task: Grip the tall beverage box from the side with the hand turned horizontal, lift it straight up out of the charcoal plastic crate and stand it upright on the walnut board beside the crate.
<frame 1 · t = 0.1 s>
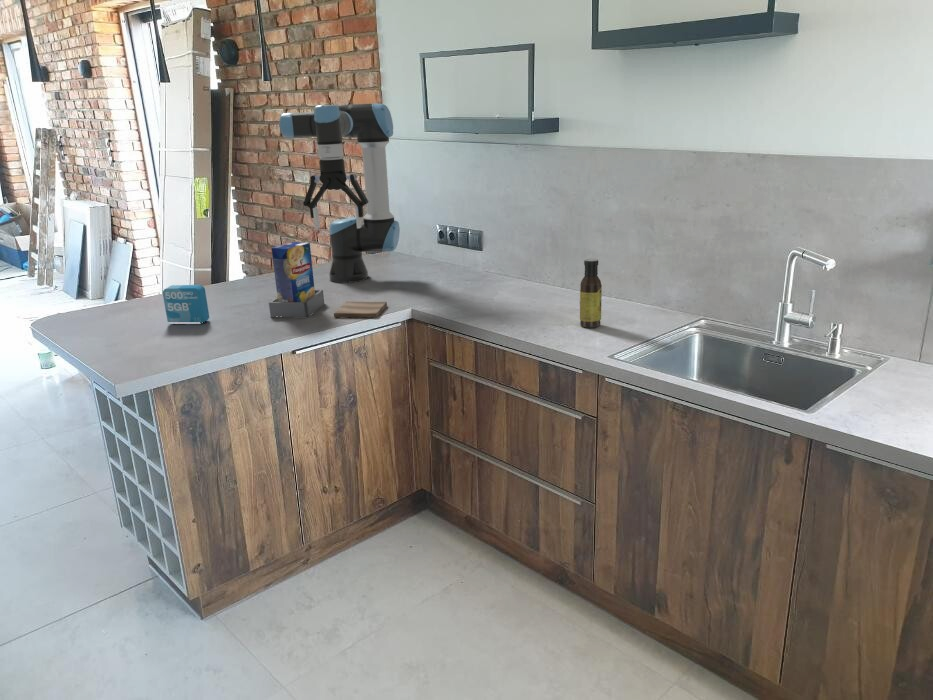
hand: (338, 228, 224), 28 cm above the table, tool pointing down, fingers open, 13 cm apart
walnut board: (361, 311, 234), on the table
beverage box: (298, 311, 238), resting in charcoal crate
sauce bottle: (590, 326, 212), on the table
charcoal crate: (298, 310, 238), on the table
data package: (189, 323, 228), on the table
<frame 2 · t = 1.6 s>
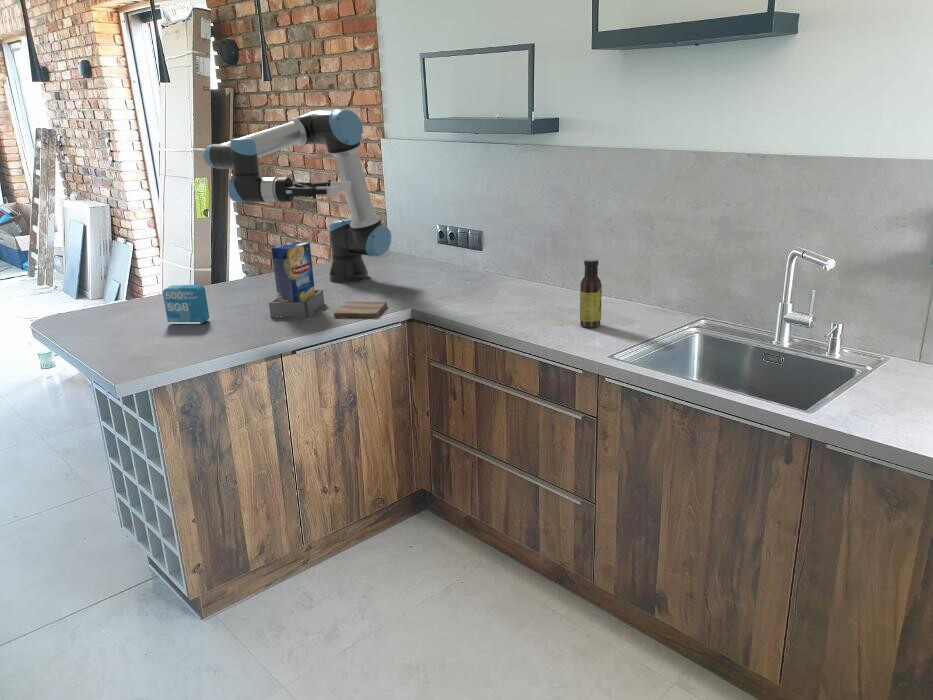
hand: (344, 188, 219), 40 cm above the table, tool horizontal, fingers open, 13 cm apart
nothing on the table moved.
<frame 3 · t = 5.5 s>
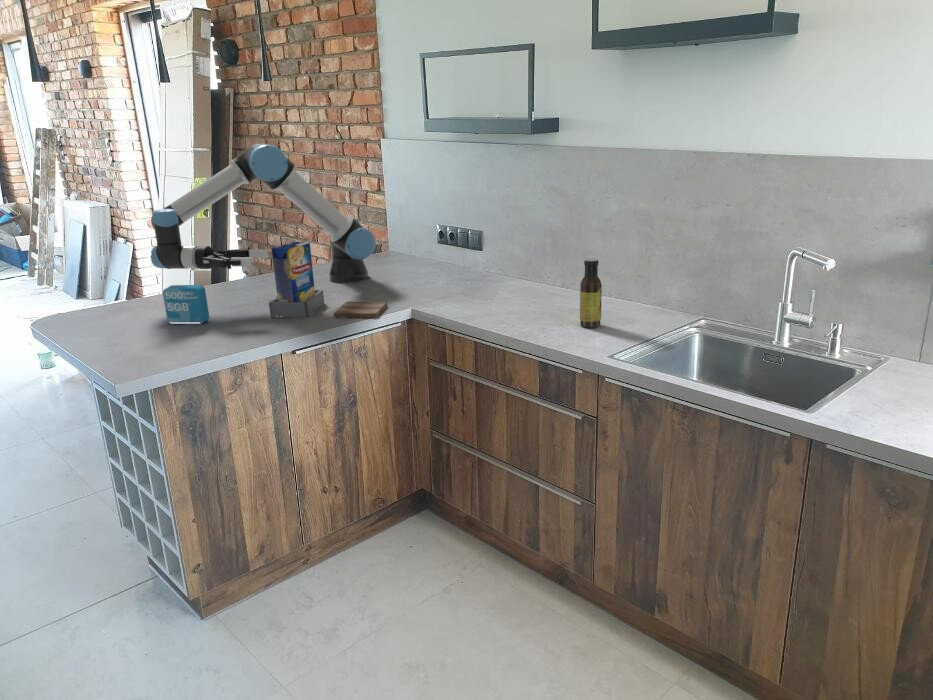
hand: (259, 257, 233), 18 cm above the table, tool horizontal, fingers open, 13 cm apart
nothing on the table moved.
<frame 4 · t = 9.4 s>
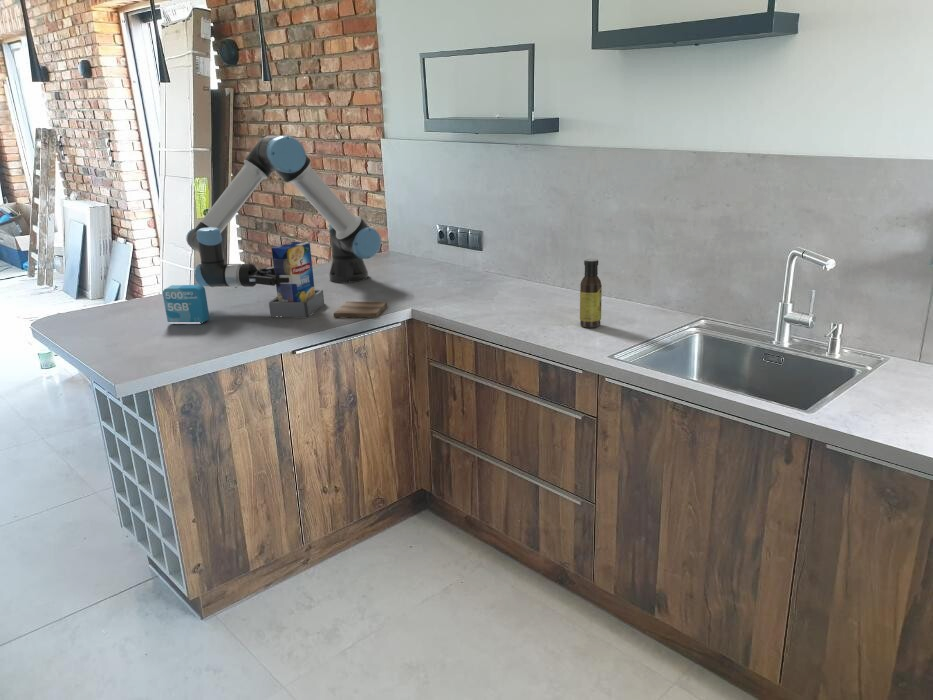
hand: (305, 275, 233), 12 cm above the table, tool horizontal, fingers closed on beverage box, 11 cm apart
beverage box: (298, 311, 238), resting in charcoal crate, touching gripper
everything else where it was.
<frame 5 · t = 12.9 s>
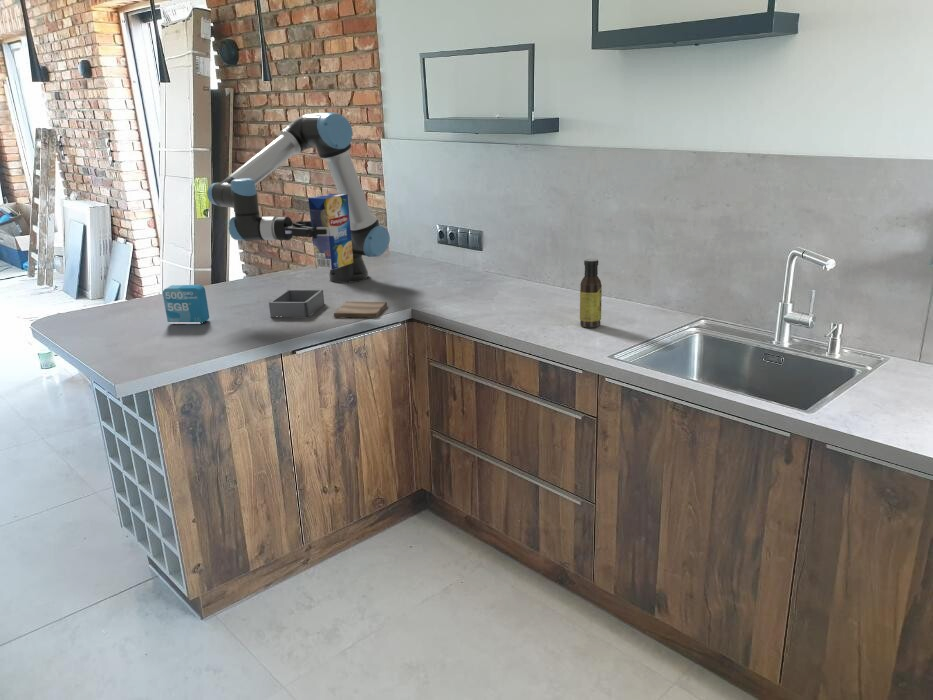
hand: (343, 228, 224), 28 cm above the table, tool horizontal, fingers closed on beverage box, 11 cm apart
beverage box: (334, 266, 229), point 16 cm above the table, touching gripper
everything else where it was.
when the fingers open (15 cm above the table, at t = 16.5 s): beverage box drops 1 cm, resting on walnut board.
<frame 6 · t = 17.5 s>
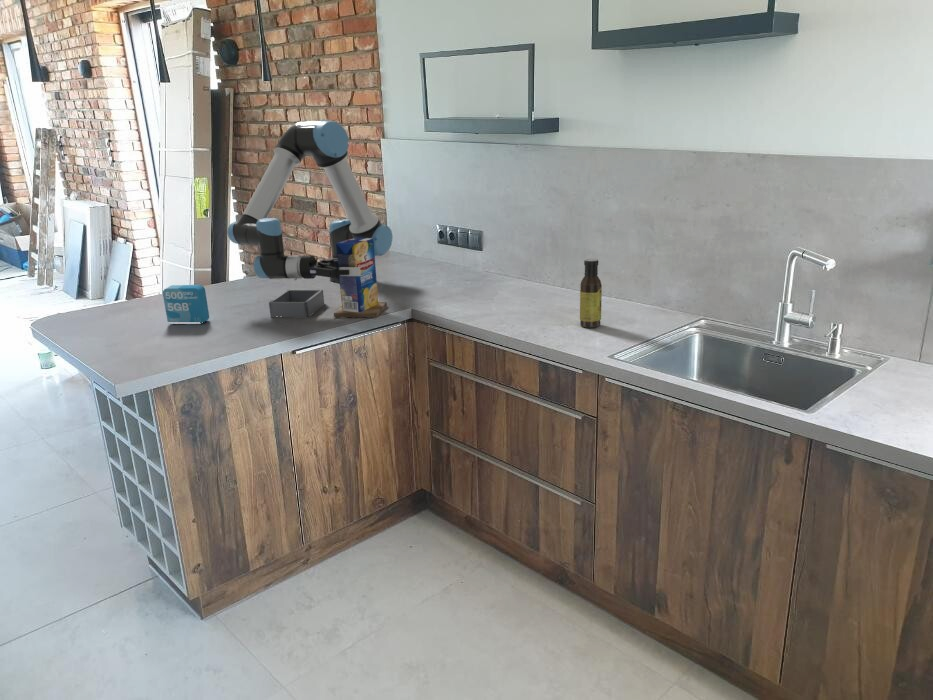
hand: (365, 266, 229), 15 cm above the table, tool horizontal, fingers open, 13 cm apart
beverage box: (360, 307, 234), point 1 cm above the table, touching walnut board
everything else where it was.
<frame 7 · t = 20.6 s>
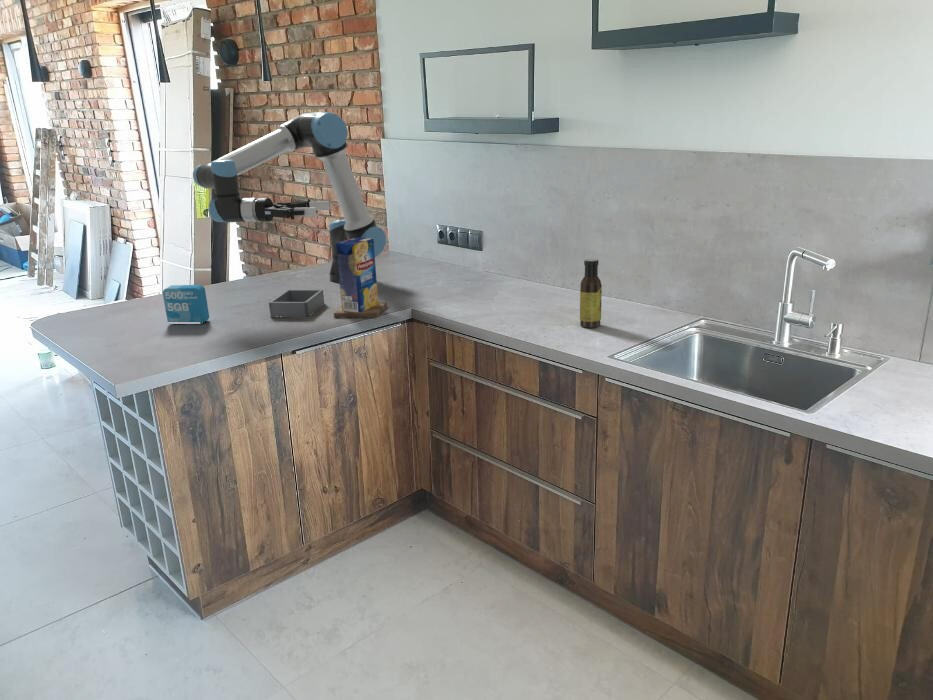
hand: (322, 208, 224), 34 cm above the table, tool horizontal, fingers open, 13 cm apart
nothing on the table moved.
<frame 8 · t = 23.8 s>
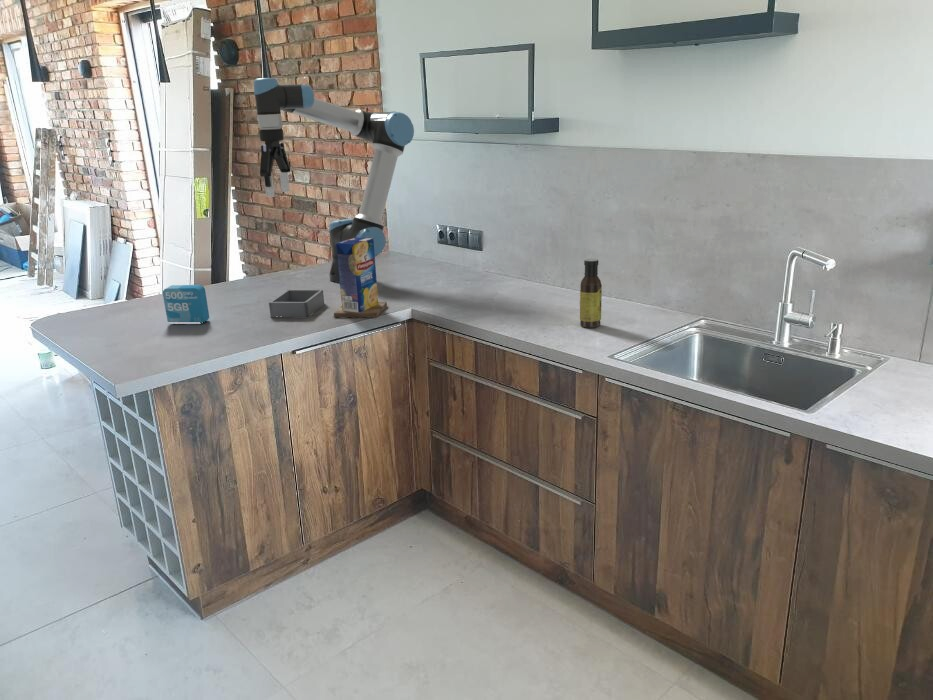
hand: (278, 194, 240), 37 cm above the table, tool pointing down, fingers open, 13 cm apart
nothing on the table moved.
at the end: beverage box inside the target area on the walnut board (0.1 cm from its centre), point 1.3 cm above the walnut board's base; beverage box tilted 0°; the gripper is holding nothing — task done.
